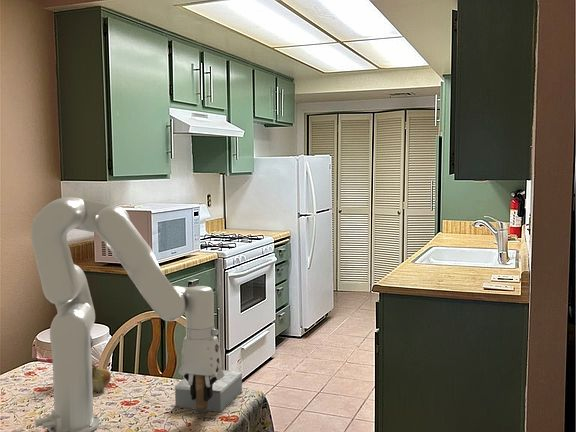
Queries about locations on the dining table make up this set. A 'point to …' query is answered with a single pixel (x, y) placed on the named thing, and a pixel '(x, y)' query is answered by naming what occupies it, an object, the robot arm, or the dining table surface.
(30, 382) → the dining table surface
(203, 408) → the brown rounded rod
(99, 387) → the onion
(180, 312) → the robot arm
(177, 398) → the box
